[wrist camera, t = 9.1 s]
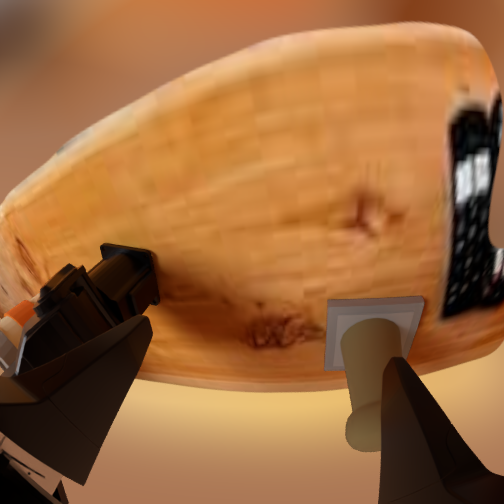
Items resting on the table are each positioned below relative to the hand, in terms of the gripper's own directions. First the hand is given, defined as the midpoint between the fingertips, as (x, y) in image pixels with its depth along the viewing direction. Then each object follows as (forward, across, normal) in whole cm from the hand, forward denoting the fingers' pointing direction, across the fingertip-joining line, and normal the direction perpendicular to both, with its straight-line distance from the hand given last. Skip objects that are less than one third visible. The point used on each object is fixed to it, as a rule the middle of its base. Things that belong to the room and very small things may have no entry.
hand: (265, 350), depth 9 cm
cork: (+12, -9, +11) cm, 18 cm away
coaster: (+13, -9, +11) cm, 19 cm away
